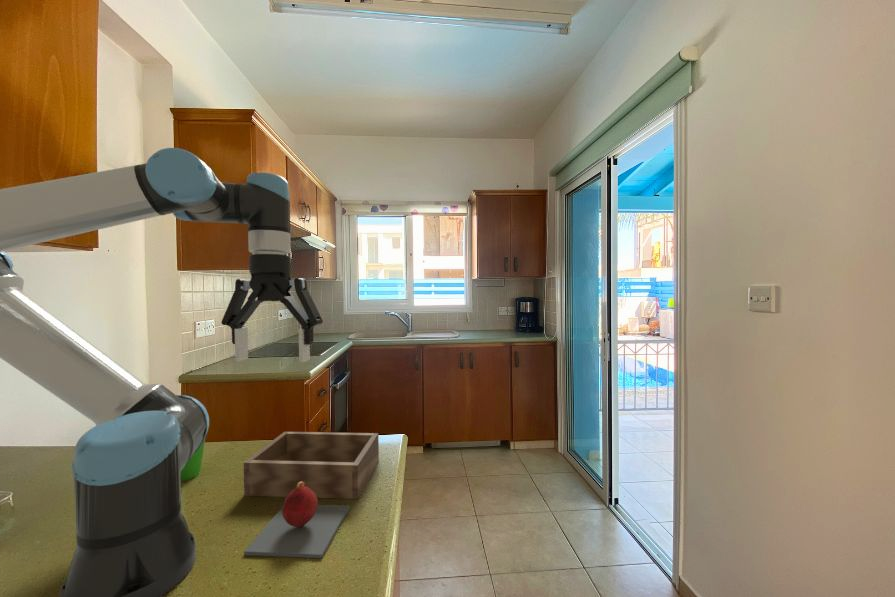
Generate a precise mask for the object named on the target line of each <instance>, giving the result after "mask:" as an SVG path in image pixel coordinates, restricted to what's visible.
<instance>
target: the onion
mask: <svg viewBox="0 0 895 597" xmlns="http://www.w3.org/2000/svg"><path fill="white" fill-rule="evenodd" d="M304 484H305V483H304V482H302V481H301V482H299V483H298V484H297V486H296V488H295V489H293V490H292V491H291V492H290V493H289V494H288V495H287V497H285V499H284V500H283V505H282V507H283V509H282V514H283V517H284V519H285V521H286V522H287V523H288V524H289V525H291V526H294V527H303V526H304V525H305V524H306V523H307V522H309V521H310V520H311V519H312V517H313V516H314V514H315V512H316V510H317V505H318V498H317V496H316V494H315V493H314V491H312V490H311V489H310V488H308V487H306V486H304Z"/></svg>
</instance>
